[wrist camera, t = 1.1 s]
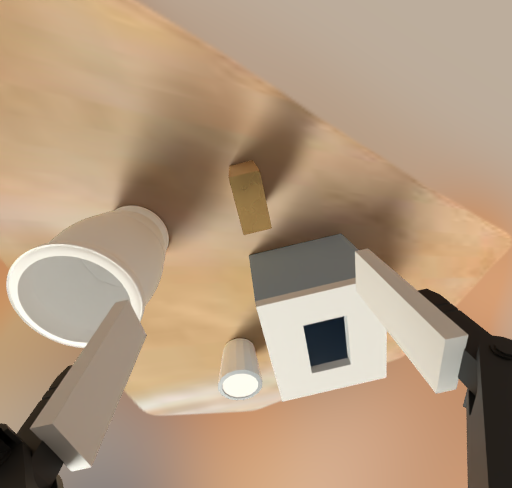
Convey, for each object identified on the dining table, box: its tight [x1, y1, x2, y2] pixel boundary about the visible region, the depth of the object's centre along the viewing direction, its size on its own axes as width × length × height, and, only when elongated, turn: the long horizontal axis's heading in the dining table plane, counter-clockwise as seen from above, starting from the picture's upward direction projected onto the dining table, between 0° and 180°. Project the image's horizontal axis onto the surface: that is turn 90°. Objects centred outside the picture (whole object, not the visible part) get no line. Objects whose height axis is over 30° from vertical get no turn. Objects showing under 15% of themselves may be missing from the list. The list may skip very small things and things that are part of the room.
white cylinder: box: [218, 338, 262, 400], centre depth 42 cm, size 7×7×7 cm
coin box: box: [249, 234, 387, 402], centre depth 35 cm, size 16×14×12 cm
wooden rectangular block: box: [229, 160, 272, 235], centre depth 29 cm, size 6×3×9 cm, turn 12°
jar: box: [6, 206, 169, 348], centre depth 28 cm, size 11×10×15 cm
